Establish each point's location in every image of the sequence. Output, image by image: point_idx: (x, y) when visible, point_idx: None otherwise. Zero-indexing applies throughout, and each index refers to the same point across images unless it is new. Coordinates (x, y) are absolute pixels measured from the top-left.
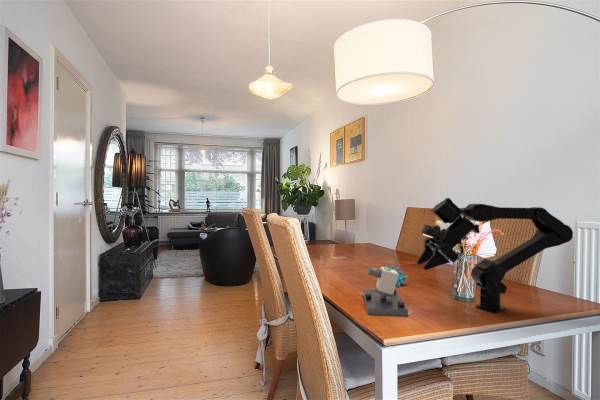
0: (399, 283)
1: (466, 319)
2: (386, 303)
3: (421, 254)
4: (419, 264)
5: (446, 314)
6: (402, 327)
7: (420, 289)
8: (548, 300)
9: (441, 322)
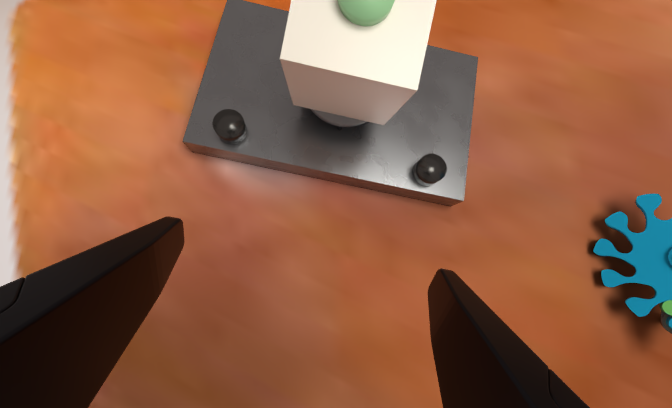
0: (619, 284)
1: (108, 397)
2: (273, 83)
3: (542, 364)
4: (429, 293)
5: (186, 331)
6: (86, 85)
7: (565, 382)
8: None
9: None
